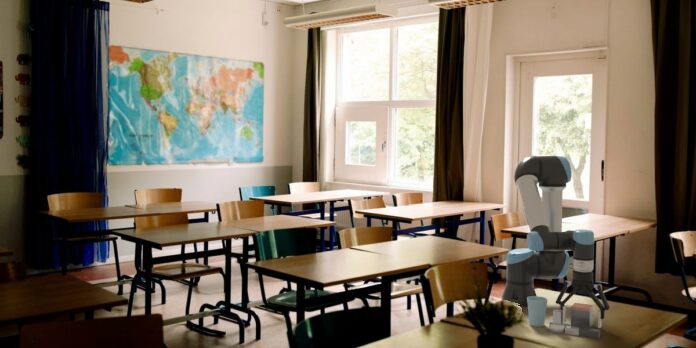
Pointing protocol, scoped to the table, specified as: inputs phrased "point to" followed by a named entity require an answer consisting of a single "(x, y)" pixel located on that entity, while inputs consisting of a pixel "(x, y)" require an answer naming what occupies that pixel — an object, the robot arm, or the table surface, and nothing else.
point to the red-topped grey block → (582, 315)
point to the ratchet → (570, 327)
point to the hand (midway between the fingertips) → (581, 324)
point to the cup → (537, 310)
